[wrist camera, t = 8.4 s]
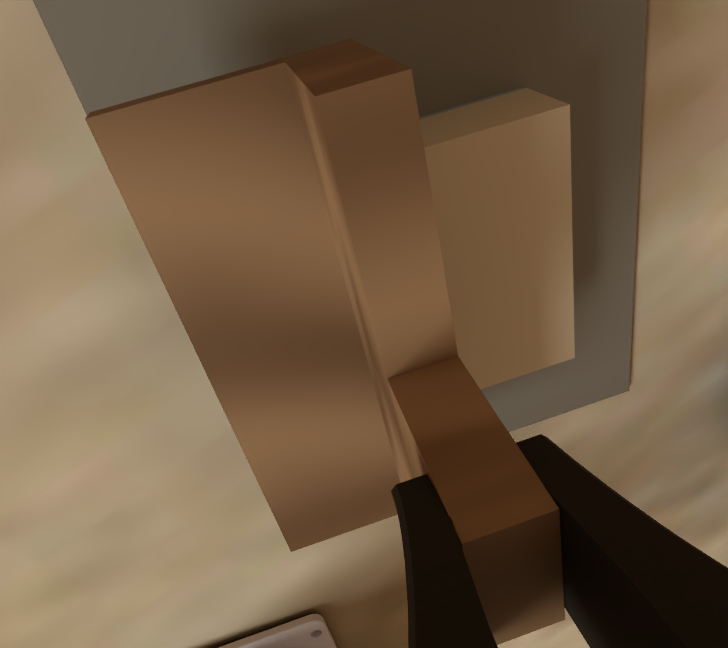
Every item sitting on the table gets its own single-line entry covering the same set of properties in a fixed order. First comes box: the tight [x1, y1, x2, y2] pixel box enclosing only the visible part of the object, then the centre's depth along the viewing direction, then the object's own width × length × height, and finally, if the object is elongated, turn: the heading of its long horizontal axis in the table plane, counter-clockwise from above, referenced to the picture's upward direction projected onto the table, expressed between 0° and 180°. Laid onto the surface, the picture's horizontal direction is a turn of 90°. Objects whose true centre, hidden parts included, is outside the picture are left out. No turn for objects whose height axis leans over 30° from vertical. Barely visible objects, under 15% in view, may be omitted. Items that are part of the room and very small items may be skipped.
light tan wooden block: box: [419, 87, 575, 389], centre depth 17 cm, size 8×2×7 cm
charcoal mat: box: [33, 0, 648, 432], centre depth 19 cm, size 18×15×1 cm
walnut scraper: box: [85, 39, 565, 645], centre depth 13 cm, size 14×6×8 cm, turn 12°
